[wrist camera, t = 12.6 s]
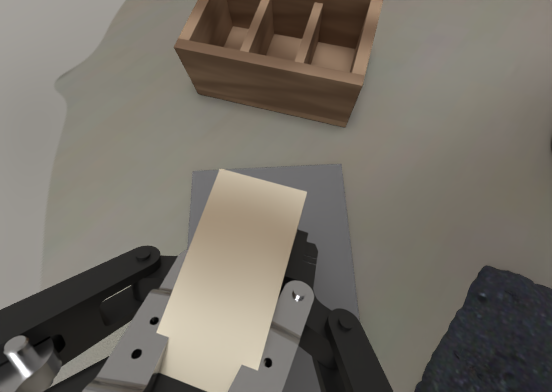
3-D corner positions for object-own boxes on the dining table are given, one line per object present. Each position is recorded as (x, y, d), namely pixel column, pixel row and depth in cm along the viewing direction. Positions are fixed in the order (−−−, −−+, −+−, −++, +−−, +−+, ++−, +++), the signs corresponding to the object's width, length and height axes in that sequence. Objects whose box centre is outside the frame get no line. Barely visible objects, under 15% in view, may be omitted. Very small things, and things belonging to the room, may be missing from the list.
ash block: (273, 315, 18) (247, 408, 6) (235, 302, 18) (142, 366, 6) (295, 236, 19) (307, 191, 8) (259, 225, 20) (219, 168, 8)
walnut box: (345, 127, 24) (362, 85, 18) (198, 93, 26) (173, 47, 20) (364, 49, 26) (385, -8, 21) (229, 24, 28) (214, -34, 23)
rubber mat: (195, 173, 23) (192, 171, 23) (339, 166, 23) (341, 163, 22) (180, 392, 18) (177, 396, 18) (365, 390, 18) (368, 394, 17)
